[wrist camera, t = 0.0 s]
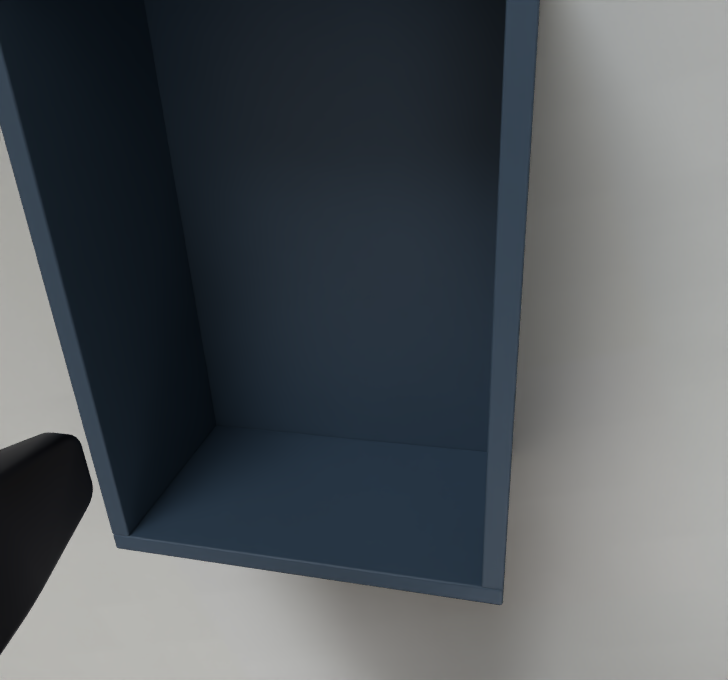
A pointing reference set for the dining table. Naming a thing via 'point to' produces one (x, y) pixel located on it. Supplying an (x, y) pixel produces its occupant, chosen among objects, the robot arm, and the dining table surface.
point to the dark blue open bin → (286, 270)
